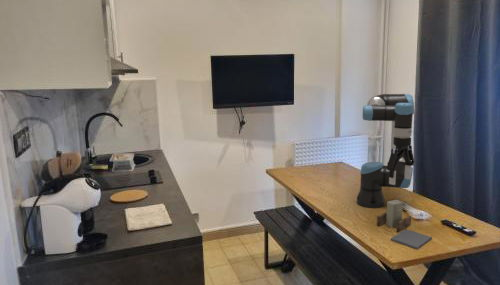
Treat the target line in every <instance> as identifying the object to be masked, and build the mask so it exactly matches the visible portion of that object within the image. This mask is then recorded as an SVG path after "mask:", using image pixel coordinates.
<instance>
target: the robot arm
mask: <svg viewBox="0 0 500 285" xmlns="http://www.w3.org/2000/svg"><path fill="white" fill-rule="evenodd" d="M414 114H415V103H414V97H413V95H412V94H409V93H384V94H383V93H382V94H377V95H374V96H372V97H371V98H370V99H369V100H368V102H367V104H365V105H363V107H362V120H363V121H373V122H374V121H375V122H376V121H378V122H381V121H383V122H391V133H390V134H391V135H390V156H389V159H388V161H387V162H386V163H387V164H386V165H384V163H383V162H381V161H369V162H364V163H363V164H362V165H361V166H360V186H359V189H360V190H359V192H358V194H357V197H356V204H358V206H361V207H364V208H371V209H377V208H378V209H379V208H382V207H384V206H385V204H386V203H385V202H386V201H385V197H384V193H383V187H384V188H395V189H396V188H398V189H408V188H409V187H410V185H411V183H412V179H413V178H412V176H413V169H414V167H412V166H415V159H414V154H413V146H412V133H413V130H412V128H413V117H414V116H413V115H414Z"/></svg>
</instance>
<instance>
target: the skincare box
mask: <svg viewBox="0 0 500 285" xmlns="http://www.w3.org/2000/svg"><path fill="white" fill-rule="evenodd" d="M403 208H404V202H403V201H401V200H398V199H394V200H393V199H392V200H389V201H386V212H387V213H386V212H385V213H386V223H385V225H386V226H387V227H389V228H391V229H393V228H397V223H398V222H399V221H401V220H403V210H404V209H403Z"/></svg>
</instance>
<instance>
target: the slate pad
mask: <svg viewBox="0 0 500 285" xmlns="http://www.w3.org/2000/svg"><path fill="white" fill-rule="evenodd" d="M432 238H433V236H430V235H427V234H423V233H419V232H417V231H414V230H411V229H407V228H405V229H403V230H402V231H400V232H399V233H398V232H397V234H395V235H393V236H392V237H390V241H392V242H394V243H397V244H400V245H403V246H406V247H409V248H412V249H415V250H419V249H420V248H421V247H423V246H424V245H426V244H427V243H429V242H431V241H432V240H433V239H432Z"/></svg>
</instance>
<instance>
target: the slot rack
mask: <svg viewBox="0 0 500 285" xmlns="http://www.w3.org/2000/svg"><path fill="white" fill-rule="evenodd" d="M386 213H387V211H386V212H384V213H382V214H380V215H378V216H377V218H376V226H377V227H380V226H382V225H383V224H386ZM411 225H412V216H410V215H408V216H407V217H406V216H405V218H402V220H401V221H399V222H398V223H397V227H396V233H397V234H398V233H400V232H402V231H403V230H405V229H407V228H408V227H410V226H411Z"/></svg>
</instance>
